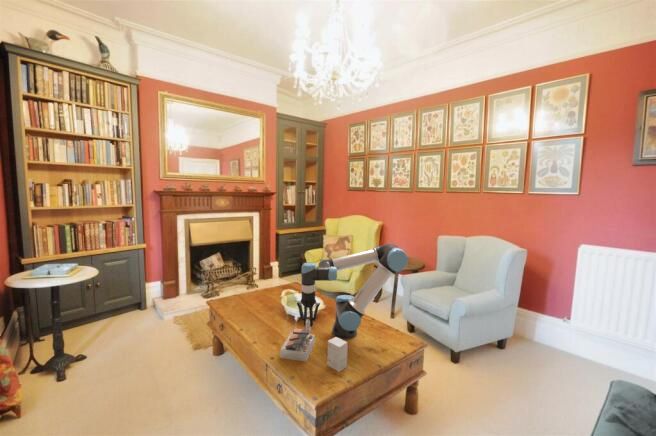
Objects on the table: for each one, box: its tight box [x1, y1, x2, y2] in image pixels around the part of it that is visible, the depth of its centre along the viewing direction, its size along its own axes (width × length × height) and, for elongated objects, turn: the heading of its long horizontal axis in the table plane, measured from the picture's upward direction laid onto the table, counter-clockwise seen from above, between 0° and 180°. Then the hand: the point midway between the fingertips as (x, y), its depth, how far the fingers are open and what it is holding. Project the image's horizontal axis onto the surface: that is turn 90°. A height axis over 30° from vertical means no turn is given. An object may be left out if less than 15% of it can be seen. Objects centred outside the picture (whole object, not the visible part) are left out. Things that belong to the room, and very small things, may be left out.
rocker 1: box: [292, 328, 310, 335], centre depth 165 cm, size 9×4×2 cm, turn 79°
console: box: [279, 331, 316, 362], centre depth 159 cm, size 14×18×5 cm
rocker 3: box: [285, 338, 303, 348], centre depth 153 cm, size 9×4×2 cm, turn 78°
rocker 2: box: [289, 333, 307, 341], centre depth 159 cm, size 9×4×2 cm, turn 78°
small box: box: [326, 336, 349, 373], centre depth 146 cm, size 8×6×13 cm
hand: (308, 331), depth 164 cm, fingers closed
